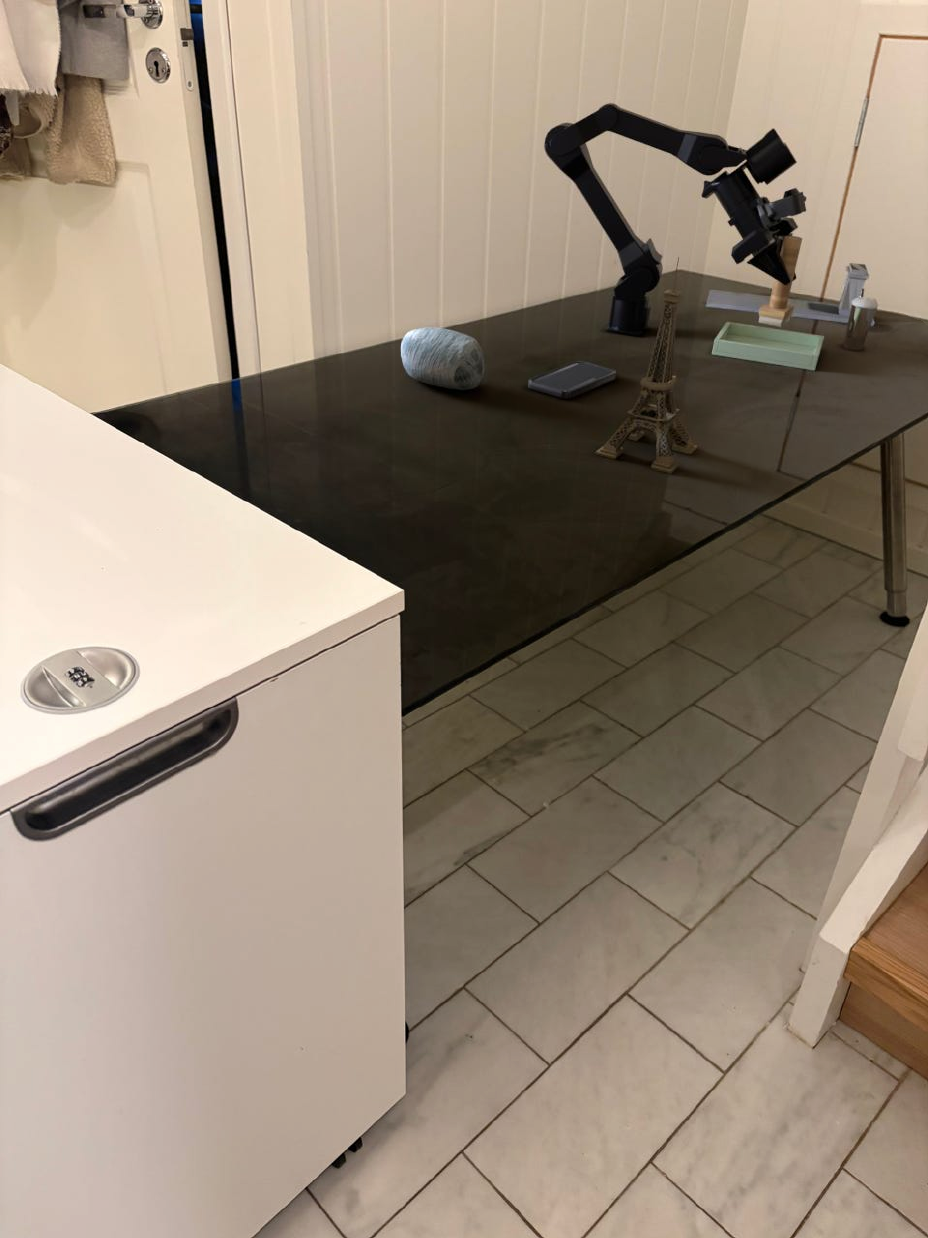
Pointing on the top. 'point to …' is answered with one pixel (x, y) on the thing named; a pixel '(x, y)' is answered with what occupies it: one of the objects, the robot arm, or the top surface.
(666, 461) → the eiffel tower
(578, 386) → the phone
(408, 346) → the blue yarn skein
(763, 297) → the monument
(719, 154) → the robot arm
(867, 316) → the milkshake
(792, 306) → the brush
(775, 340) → the tray
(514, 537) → the top surface
